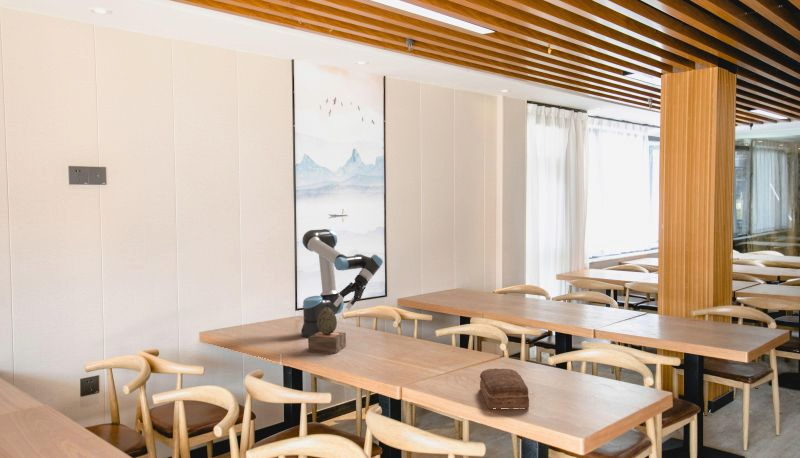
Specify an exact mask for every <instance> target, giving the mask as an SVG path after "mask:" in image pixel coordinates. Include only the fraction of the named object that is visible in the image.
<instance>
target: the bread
mask: <svg viewBox="0 0 800 458" xmlns="http://www.w3.org/2000/svg"><path fill="white" fill-rule="evenodd" d="M479 378H480V380H479V384H480V385H479V388H480V391H481V394H482V396H483V398H484V401H486V402H485V403H487V404H486V406H487V405H488V406H487V407H488V409H489V408H490V409H493V408H496V409H501V408H528V409H529V408H530V397H529V387H528V386H527V385H526V382H525V380H524V379H523V378H522V375H521V374H519V372H518V371H516V370H515V369H514V370H513V369H512V368H497V367H496V368H488V369H485V370H482V372H481V373H479ZM490 409H489V410H490Z"/></svg>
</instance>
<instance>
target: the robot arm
mask: <svg viewBox="0 0 800 458" xmlns="http://www.w3.org/2000/svg"><path fill="white" fill-rule="evenodd" d="M337 243H338V237H337V234H336V232H335V231H334V230H332V229H330V228H329V229H328V228H326V229H325V228H324V229H322V228H321V229H310V230H307V231H306V232H305V233H304V234H303V236H302V245H303V247H304V248H305V249H306V250H308V251H309V252H314V253H316V254H317V255H318V258H319V259H318V260H319V261H318V262H319V272H320V282H321V290H322V292H321V293H320V294H319V295H312V296H308V297H306V298H305V299H303V305H302V309H303V311H302V312H303V325H302V328H301V330H300V336H301V337H304V338H309V337H310V336H312V335H314V334H316V333H318V332H321V331H320V330H319V328H318V325H317V320H318V316H319V314H320V312H321V311H322V310H323V309H324V308H326V307H327V308H330V309H331V310H332V311H333V312H334V314H335V315H338V314H340V313H341V312H342V311H343V309H344V303H345V302H344V299H345V297H346V296H347V295H350V293H354V295H353V297H352V298H351V299H350V300H349V302H348V303H347V304H346V305H345V308H346V309H347V310H348V311H350V309H352V307H353V306H354V305H355V304H356V302H358V301H361V299H362V296H363V293H364V291H365V289H366V286H367V285H368V283H369V282H370V281H371V280H372V278H373V277H374V276H375V274H376V273H377V271H379V270H380V268H381V267H382V265H383V263H384V261H383V259H382V257H380V256H379V255H378V254H373V255H371V257H370V256H366V255H365V254H359V253H356V254H353V255H351V256H349V255H348V256H347V255H345V254H343V253H341V252H340V251H338V250H336V249H335V247H336V246H337ZM334 267H335V268H334ZM335 269H336V270H337V271H349V270H355V269H356V270H357V269H361V270H360V271H359V273H358V274H356V276H355V277H354V282H351V281H350V283H349V284H348V285H347V286H345V287H344V288H343V289H342V290H341V291H337V288H336V287H337V286H336V277H335Z"/></svg>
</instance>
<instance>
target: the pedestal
mask: <svg viewBox="0 0 800 458" xmlns="http://www.w3.org/2000/svg"><path fill="white" fill-rule="evenodd" d="M346 335H347V334H346V332H338V331H337V332H336V331H334V332H333V333H331V334H328V335H326V334H323V333H322V332H318V333H316V334H314V335H312V336H310V337H307V338H308V339H307V346H308V353H313V354H314V353H316V354H317V353H319V354H338V353H339V352H341V351H342V350H343V349H345V348H346V347H347V345H346V344H347V340H346V339H347V337H346Z"/></svg>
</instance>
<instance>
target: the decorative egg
mask: <svg viewBox="0 0 800 458" xmlns="http://www.w3.org/2000/svg"><path fill="white" fill-rule="evenodd" d="M337 324H338V321H337V317H336V314H334V312H333V311H332V310H331V309H330V308H327V307H326V308H324V309H323V310H322V311H321V312H320V314H319V316H318V320H317V325H318V328H319V330H320V331H321V332H322V333H323V334H326V335H328V334H331V333H333V332H335V330H336V329H337Z"/></svg>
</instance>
